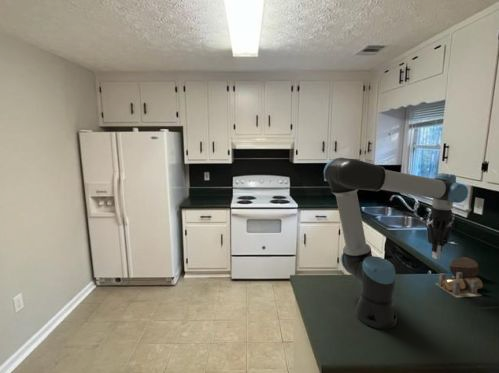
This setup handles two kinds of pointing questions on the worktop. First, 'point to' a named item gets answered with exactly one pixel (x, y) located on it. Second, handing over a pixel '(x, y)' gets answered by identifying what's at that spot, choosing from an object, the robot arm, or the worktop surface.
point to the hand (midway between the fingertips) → (435, 258)
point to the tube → (464, 283)
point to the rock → (464, 267)
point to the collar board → (456, 286)
